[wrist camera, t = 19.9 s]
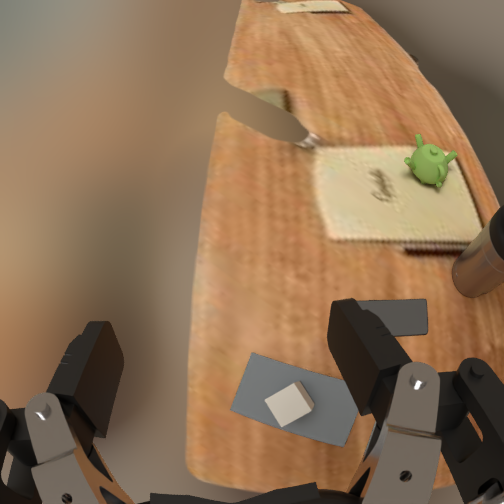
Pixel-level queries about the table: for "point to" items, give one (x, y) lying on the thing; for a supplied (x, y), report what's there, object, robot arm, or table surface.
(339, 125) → the table surface
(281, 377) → the desk mat
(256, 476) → the table surface
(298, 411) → the block
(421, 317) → the smartphone
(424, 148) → the teapot
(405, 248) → the table surface
